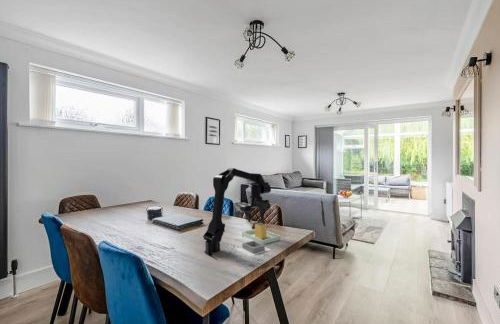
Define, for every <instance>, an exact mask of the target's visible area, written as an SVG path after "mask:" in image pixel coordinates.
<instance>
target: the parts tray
mask: <svg viewBox="0 0 500 324" xmlns="http://www.w3.org/2000/svg"><path fill="white" fill-rule="evenodd" d="M266 236H267V237H270V238H264V239H259V238H257V237H255V229H252V228H251V229H248V230H244V231H241V237H242V238H244V237H245V238H248V239H249V240H251V241H256V242H258V243H260V244H263V245H266V244H269V243H273V242H276V241H281V239H282V237H281V235H279V234H276V233H273V232H270V231H269V230H266Z"/></svg>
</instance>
